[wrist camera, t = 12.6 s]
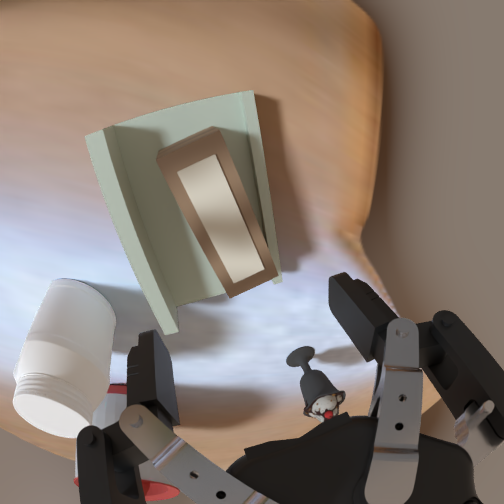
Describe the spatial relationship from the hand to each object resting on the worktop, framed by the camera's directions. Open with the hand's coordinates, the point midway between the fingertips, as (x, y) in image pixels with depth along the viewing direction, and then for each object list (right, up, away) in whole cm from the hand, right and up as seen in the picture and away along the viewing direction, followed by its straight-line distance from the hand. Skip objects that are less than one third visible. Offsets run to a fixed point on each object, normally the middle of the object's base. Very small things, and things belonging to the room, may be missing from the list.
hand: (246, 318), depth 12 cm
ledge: (-5, +8, +16) cm, 18 cm away
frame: (-3, +7, +14) cm, 16 cm away
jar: (-22, -5, +18) cm, 29 cm away
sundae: (+8, -14, +32) cm, 36 cm away
